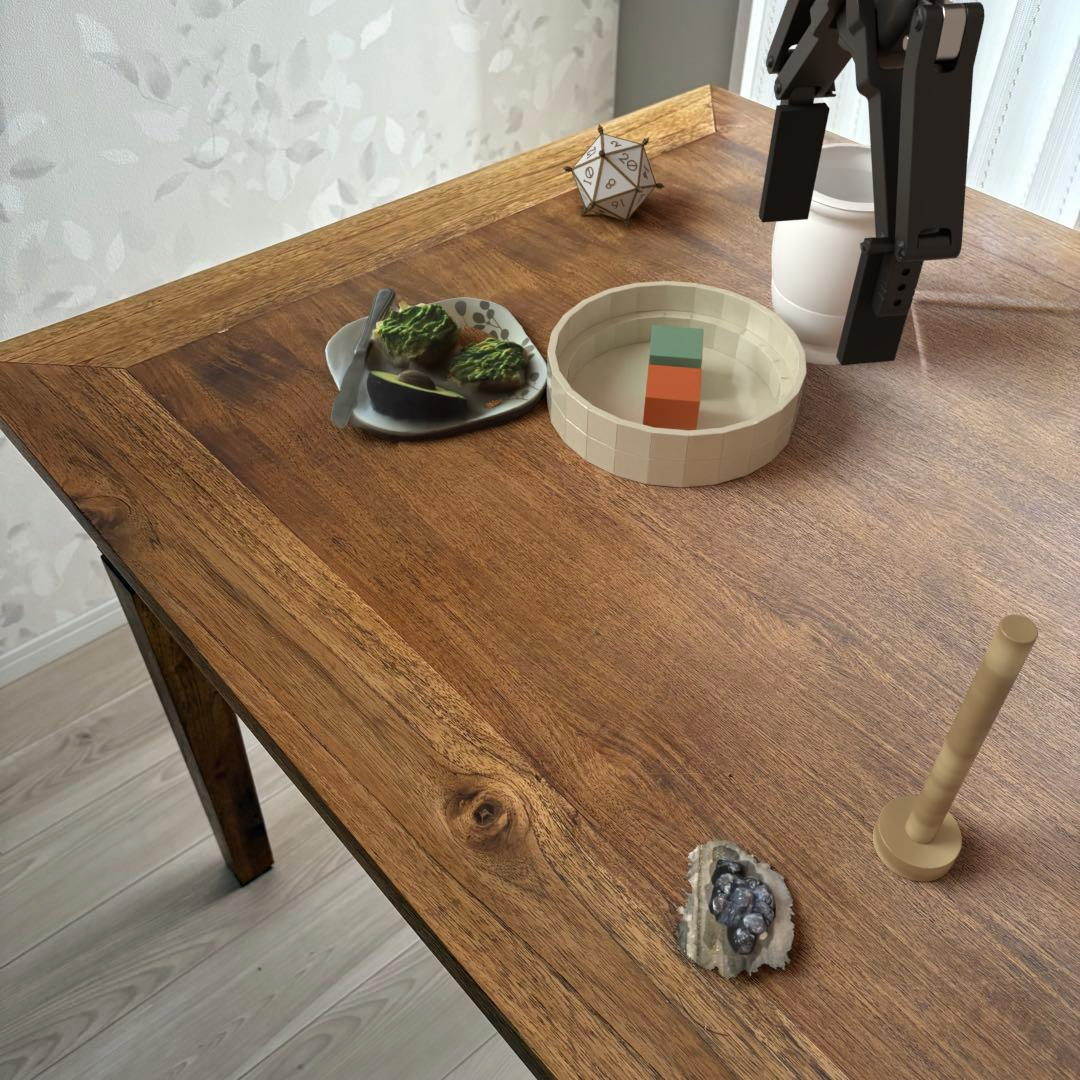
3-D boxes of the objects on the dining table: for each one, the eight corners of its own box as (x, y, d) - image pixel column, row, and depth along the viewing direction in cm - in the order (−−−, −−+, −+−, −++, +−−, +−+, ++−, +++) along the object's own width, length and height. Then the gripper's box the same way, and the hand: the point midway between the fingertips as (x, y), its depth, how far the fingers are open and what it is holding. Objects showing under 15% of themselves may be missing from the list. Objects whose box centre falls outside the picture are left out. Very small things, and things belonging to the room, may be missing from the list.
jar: (872, 388, 89) (919, 219, 78) (745, 363, 91) (773, 195, 81) (888, 316, 96) (932, 152, 85) (769, 294, 98) (798, 131, 88)
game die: (628, 245, 111) (697, 171, 105) (590, 255, 104) (662, 176, 98) (570, 178, 112) (636, 101, 106) (530, 183, 105) (598, 101, 99)
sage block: (698, 369, 90) (703, 328, 87) (696, 400, 87) (702, 358, 84) (648, 365, 90) (652, 324, 87) (645, 396, 87) (649, 354, 84)
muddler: (949, 813, 62) (1062, 595, 49) (959, 886, 59) (1083, 674, 46) (869, 804, 63) (959, 585, 49) (875, 876, 59) (974, 663, 46)
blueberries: (687, 994, 55) (691, 978, 54) (647, 849, 61) (649, 832, 59) (817, 970, 56) (824, 953, 55) (765, 829, 61) (770, 811, 60)
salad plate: (292, 325, 95) (284, 278, 91) (491, 285, 99) (489, 239, 96) (344, 468, 82) (337, 419, 79) (569, 415, 86) (571, 367, 83)
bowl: (790, 347, 93) (801, 290, 89) (797, 504, 80) (811, 446, 76) (562, 328, 95) (563, 272, 91) (532, 480, 81) (532, 422, 77)
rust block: (696, 410, 86) (701, 368, 83) (694, 443, 83) (700, 401, 80) (644, 405, 86) (648, 364, 84) (641, 439, 84) (645, 397, 81)
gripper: (744, -249, 52) (695, 174, 67) (958, -76, 35) (828, 440, 50) (896, -252, 53) (815, 166, 68) (1181, -85, 36) (986, 425, 51)
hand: (820, 283), depth 59 cm, fingers open, 13 cm apart
